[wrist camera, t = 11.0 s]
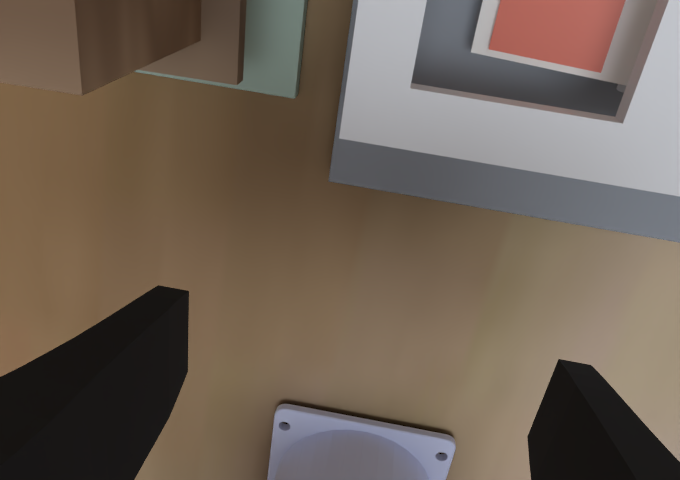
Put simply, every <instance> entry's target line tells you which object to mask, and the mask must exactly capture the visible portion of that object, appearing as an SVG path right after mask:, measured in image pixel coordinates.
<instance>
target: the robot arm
mask: <svg viewBox="0 0 680 480" xmlns="http://www.w3.org/2000/svg"><path fill="white" fill-rule="evenodd" d="M188 310H189V291H186V290H180V289H175V288H169V287H164V286H157V287H155V288H154V289H152V290H150V291H149V292H147V293H145V294H144V295H142V296H141V297H139V298H137V299H136V300H134V301H133V302H131V303H130V304H128V305H126V306H125V307H123V308H122V309H120V310H119V311H117V312H115V313H114V314H112V315H111V316H109V317H107V318H106V319H104V320H102V321H101V322H99V323H98V324H96V325H94V326H93V327H91V328H89V329H88V330H86V331H84V332H83V333H81V334H80V335H78V336H76V337H75V338H73V339H71V340H69V341H67V342H66V343H64V344H62V345H60V346H58V347H56V348H55V349H53V350H51V351H49V352H47V353H46V354H44V355H42V356H40V357H38V358H37V359H35V360H33V361H31V362H29V363H27V364H26V365H24V366H22V367H20V368H18V369H16V370H14V371H12V372H10V373H8V374H6V375H4V376H1V377H0V480H134V479H135V477H136V475H137V474H138V472H139V470H140V468H141V467H142V465H143V463H144V461H145V459H146V458H147V456H148V454H149V452H150V451H151V449H152V447H153V445H154V444H155V442H156V440H157V438H158V436H159V435H160V433H161V431H162V429H163V427H164V426H165V424H166V422H167V420H168V418H169V416H170V414H171V412H172V409H173V407H174V404H175V402H176V400H177V397H178V395H179V392H180V390H181V387H182V385H183V382H184V380H185V377H186V375H187V372H188ZM282 422H287V423H288V424H284V423H282ZM528 448H529V461H530V472H531V480H680V462H679V461H678V460H677V459H676V458H675V457H674V456H673V455H672V454H671V452H670V451H669V450H668V449H667V448H666V447H665V446H664V445H663V444H662V443H661V442H660V441H659V439H658V438H657V437H656V436H655V435H654V434H653V433H652V432H651V431H650V430H649V428H648V427H647V426H646V425H645V424H644V423H643V422H642V421H641V420H640V418H639V417H638V416H637V415H636V414H635V413H634V412H633V411H632V409H631V408H630V407H629V406H628V405H627V404H626V403H625V402H624V400H623V399H622V398H621V397H620V396H619V395H618V394H617V393H616V391H615V390H614V389H613V388H612V387H611V386H610V385H609V384H608V382H607V381H606V380H605V379H604V378H603V377H602V376H601V375H600V374H599V373H598V372H597V371H596V370H595V369H594V368H593V367H592V366H591V365H587V364H582V363H577V362H571V361H566V360H560V359H559V360H558V362H557V365H556V367H555V370H554V372H553V375H552V377H551V380H550V382H549V385H548V387H547V390H546V392H545V395H544V397H543V400H542V402H541V405H540V407H539V409H538V412H537V414H536V417H535V419H534V422H533V424H532V427H531V429H530V432H529V434H528ZM455 449H456V445H455V440H454V438H453V437H451V436H450V435H447V434H443V433H437V432H432V431H427V430H422V429H416V428H411V427H406V426H401V425H396V424H390V423H385V422H380V421H375V420H370V419H364V418H359V417H354V416H349V415H343V414H338V413H333V412H328V411H323V410H317V409H312V408H307V407H302V406H297V405H291V404H281V405H279V406H278V407H277V409H276V412H275V415H274V424H273V433H272V442H271V451H270V460H269V469H268V478H267V480H446V478H447V475H448V472H449V468H450V465H451V462H452V459H453V456H454V453H455ZM439 452H443V453H444V454H439Z"/></svg>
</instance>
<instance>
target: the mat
mask: <svg viewBox="0 0 680 480" xmlns="http://www.w3.org/2000/svg"><path fill="white" fill-rule="evenodd" d="M307 3H308V0H247V4H246V26H245V48H244V70H243V81H242V82H240V83H239V84H238V85H232V84H225V83H219V82H213V81H206V80H200V79H193V78H187V77H180V76H174V75H168V74H161V73H155V72H148V71H142V70H136V71H134V72H139V73H145V74H151V75H157V76H163V77H169V78H175V79H181V80H187V81H193V82H199V83H205V84H211V85H217V86H223V87H229V88H234V89H240V90H246V91H252V92H258V93H264V94H270V95H276V96H282V97H288V98H294V99H295V98H296V96H297V95H298V90H299V81H300V71H301V61H302V51H303V42H304V32H305V22H306V12H307Z"/></svg>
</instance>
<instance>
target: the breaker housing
mask: <svg viewBox="0 0 680 480" xmlns="http://www.w3.org/2000/svg"><path fill="white" fill-rule="evenodd" d="M482 1H483V0H353V6H352V13H351V20H350V28H349V35H348V42H347V50H346V57H345V64H344V72H343V79H342V86H341V93H340V101H339V108H338V115H337V123H336V130H335V137H334V145H333V152H332V159H331V167H330V174H329V182H335V183H341V184H347V185H352V186H358V187H364V188H370V189H375V190H381V191H387V192H393V193H398V194H404V195H410V196H416V197H421V198H427V199H433V200H439V201H444V202H450V203H456V204H461V205H467V206H473V207H479V208H484V209H490V210H496V211H502V212H507V213H513V214H519V215H525V216H530V217H536V218H542V219H548V220H553V221H559V222H565V223H571V224H576V225H582V226H588V227H594V228H599V229H605V230H611V231H617V232H622V233H628V234H634V235H640V236H645V237H651V238H657V239H663V240H668V241H674V242H680V0H658V1H657V4H656V6H655V9H654V12H653V15H652V17H651V20H650V23H649V26H648V28H647V31H646V34H645V37H644V39H643V42H642V45H641V48H640V50H639V53H638V56H637V59H636V61H635V64H634V67H633V70H632V72H631V75H630V78H629V80H628V83H627V86H626V89H625V91H624V93H623V92H620V91H618V90H617V89H616V88H617V86H618V84H616V83H612V82H607V81H602V80H598V79H593V78H588V77H584V76H579V75H574V74H570V73H565V72H560V71H556V70H551V69H546V68H542V67H537V66H532V65H528V64H523V63H518V62H514V61H509V60H504V59H500V58H495V57H490V56H486V55H481V54H476V53H472V52H471V49H472V44H473V40H474V36H475V31H476V27H477V23H478V19H479V14H480V10H481V6H482Z"/></svg>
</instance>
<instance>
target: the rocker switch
mask: <svg viewBox="0 0 680 480" xmlns="http://www.w3.org/2000/svg"><path fill="white" fill-rule="evenodd" d="M657 1H658V0H483V1H482V6H481V10H480V14H479V19H478V23H477V27H476V31H475V36H474V40H473V44H472V49H471V52H472V53H476V54H481V55H486V56H490V57H495V58H500V59H504V60H509V61H514V62H518V63H523V64H528V65H532V66H537V67H542V68H546V69H551V70H556V71H560V72H565V73H570V74H574V75H579V76H584V77H588V78H593V79H598V80H602V81H607V82H612V83H616V84H618V86H617V88H616V89H617V90H618V91H620V92H623V93H624V91H625V89H626V86H627V83H628V80H629V78H630V75H631V72H632V70H633V67H634V64H635V61H636V59H637V56H638V53H639V50H640V48H641V45H642V42H643V39H644V37H645V34H646V31H647V28H648V26H649V23H650V20H651V17H652V15H653V12H654V9H655V6H656V4H657Z"/></svg>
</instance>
